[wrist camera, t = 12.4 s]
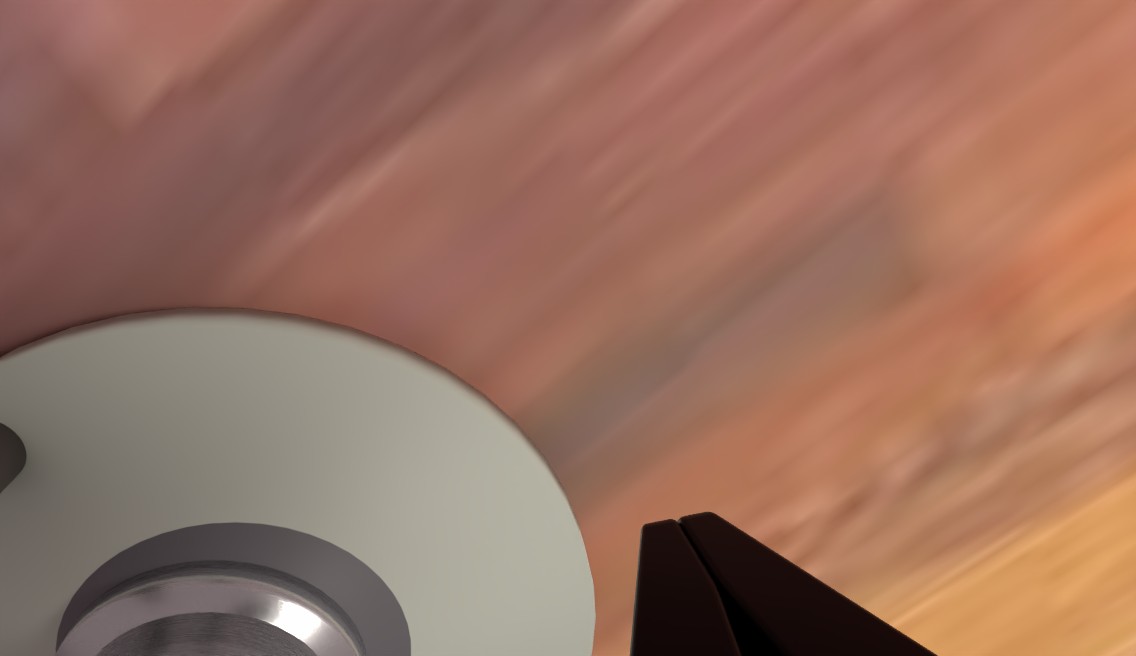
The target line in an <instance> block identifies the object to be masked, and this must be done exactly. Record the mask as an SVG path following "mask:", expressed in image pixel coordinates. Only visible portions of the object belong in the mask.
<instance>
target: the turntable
mask: <svg viewBox="0 0 1136 656" xmlns="http://www.w3.org/2000/svg"><path fill="white" fill-rule="evenodd" d="M202 560H227V561H237V562H247V563H252V564H257V565H262V566H267V567H270V568H273V569H276V570H280V571H283V572H286V573H288V574H291V575H293V576H295V577H298V578H300V579H302V580H304V581H306V582H308V583H310V584H311V585H313V586H315V587H316V588H318V589H320V590H321V591H323V592H324V593H325V594H326V595H328V596H329V597H330V598H332V599H333V600H334V601H335V602H336V603H337V604H338V605H339V606H340V607H341V608H342V609H343V610H344V611H345V612H346V613H347V614H348V616H349V617H350V618H351V620H352V621H353V622H354V624H355V625H356V627H357V629H358V631H359V633H360V635H361V637H362V639H363V642H364V645H365V648H366V651H367V656H591V654H592V648H593V638H594V628H595V618H596V616H595V601H594V585H593V579H592V575H591V571H590V567H589V562H588V558H587V554H586V550H585V546H584V542H583V539H582V535H581V532H580V528H579V524H578V521H577V519H576V516H575V514H574V512H573V509H572V507H571V504H570V502H569V500H568V497H567V495H566V492H565V490H564V488H563V486H562V484H561V483H560V481H559V480H558V478H557V476H556V475H555V473H554V471H553V470H552V468H551V467H550V465H549V463H548V462H547V460H546V458H545V457H544V455H543V454H542V453H541V452H540V450H539V449H538V448H537V447H536V446H535V444H534V443H533V442H532V441H531V440H530V438H529V437H528V436H527V435H526V434H525V433H524V431H523V430H522V429H521V428H520V427H519V425H518V424H517V423H516V422H515V421H513V420H512V419H511V418H510V417H509V416H508V415H507V414H506V413H505V412H503V411H502V410H501V409H500V408H499V407H498V406H497V405H496V404H495V403H493V402H492V401H491V400H490V399H489V398H488V397H487V396H486V395H484V394H483V393H482V392H480V391H479V390H477V389H476V388H474V387H473V386H471V385H470V384H468V383H467V382H465V381H464V380H462V379H461V378H459V377H458V376H457V375H455V374H454V373H452V372H451V371H449V370H448V369H446V368H445V367H443V366H441V365H439V364H437V363H435V362H433V361H431V360H429V359H427V358H425V357H423V356H421V355H419V354H417V353H415V352H413V351H411V350H409V349H407V348H405V347H403V346H401V345H399V344H396V343H393V342H390V341H388V340H385V339H382V338H379V337H377V336H374V335H371V334H369V333H366V332H363V331H360V330H358V329H355V328H352V327H348V326H344V325H340V324H335V323H331V322H327V321H323V320H319V319H314V318H310V317H306V316H302V315H297V314H288V313H280V312H272V311H263V310H255V309H247V308H178V309H169V310H160V311H151V312H142V313H133V314H126V315H122V316H117V317H113V318H109V319H105V320H100V321H96V322H92V323H88V324H83V325H79V326H75V327H71V328H68V329H66V330H63V331H60V332H58V333H55V334H52V335H50V336H47V337H44V338H42V339H39V340H36V341H34V342H31V343H28V344H26V345H23V346H20V347H18V348H16V349H14V350H13V351H11V352H9V353H7V354H5V355H3V356H1V357H0V656H54V655H55V654H56V652H57V650H58V649H59V647H60V645H61V644H62V642H63V640H64V639H65V637H66V636H67V634H68V632H69V631H70V629H71V628H72V626H73V625H74V623H75V622H76V620H77V619H78V617H79V616H80V615H81V614H82V613H83V612H84V610H85V609H86V608H87V607H88V606H89V605H90V604H91V603H92V602H93V601H95V600H96V599H97V598H98V597H100V596H101V595H102V594H103V593H105V592H106V591H108V590H109V589H111V588H113V587H114V586H116V585H117V584H119V583H121V582H122V581H125V580H127V579H129V578H131V577H134V576H136V575H138V574H140V573H143V572H146V571H149V570H153V569H156V568H159V567H163V566H167V565H172V564H177V563H182V562H192V561H202Z"/></svg>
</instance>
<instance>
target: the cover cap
mask: <svg viewBox="0 0 1136 656" xmlns="http://www.w3.org/2000/svg"><path fill="white" fill-rule="evenodd" d="M54 656H367V651H366V648H365V645H364V642H363V639H362V637H361V635H360V633H359V631H358V629H357V627H356V625H355V624H354V622H353V621H352V620H351V618H350V617H349V616H348V614H347V613H346V612H345V611H344V610H343V609H342V608H341V607H340V606H339V605H338V604H337V603H336V602H335V601H334V600H333V599H332V598H330V597H329V596H328V595H326V594H325V593H324V592H323V591H321V590H320V589H318V588H316V587H315V586H313V585H311V584H310V583H308V582H306V581H304V580H302V579H300V578H298V577H295V576H293V575H291V574H288V573H286V572H283V571H280V570H276V569H273V568H270V567H267V566H262V565H257V564H252V563H247V562H237V561H227V560H202V561H192V562H182V563H177V564H172V565H167V566H163V567H159V568H156V569H153V570H149V571H146V572H143V573H140V574H138V575H136V576H134V577H131V578H129V579H127V580H125V581H122V582H121V583H119V584H117V585H116V586H114V587H113V588H111V589H109V590H108V591H106V592H105V593H103V594H102V595H101V596H100V597H98V598H97V599H96V600H95V601H93V602H92V603H91V604H90V605H89V606H88V607H87V608H86V609H85V610H84V612H83V613H82V614H81V615H80V616H79V617H78V619H77V620H76V622H75V623H74V625H73V626H72V628H71V629H70V631H69V632H68V634H67V636H66V637H65V639H64V640H63V642H62V644H61V645H60V647H59V649H58V650H57V652H56V654H55V655H54Z"/></svg>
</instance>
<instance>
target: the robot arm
mask: <svg viewBox="0 0 1136 656" xmlns="http://www.w3.org/2000/svg"><path fill="white" fill-rule="evenodd" d="M630 656H937V655H936V654H934V653H933V652H931V651H930V650H928V649H927V648H925V647H923V646H922V645H920V644H919V643H917V642H916V641H914V640H912V639H911V638H909V637H908V636H906V635H905V634H903V633H901V632H900V631H898V630H897V629H895V628H894V627H892V626H890V625H889V624H887V623H886V622H884V621H883V620H881V619H880V618H878V617H876V616H875V615H873V614H872V613H870V612H869V611H867V610H865V609H864V608H862V607H861V606H859V605H858V604H856V603H854V602H853V601H851V600H850V599H848V598H847V597H845V596H843V595H842V594H840V593H839V592H837V591H836V590H834V589H833V588H831V587H829V586H828V585H826V584H825V583H823V582H822V581H820V580H818V579H817V578H815V577H814V576H812V575H811V574H809V573H807V572H806V571H804V570H803V569H801V568H800V567H798V566H796V565H795V564H793V563H792V562H790V561H789V560H787V559H785V558H784V557H782V556H781V555H779V554H778V553H776V552H775V551H773V550H771V549H770V548H768V547H767V546H765V545H764V544H762V543H760V542H759V541H757V540H756V539H754V538H753V537H751V536H749V535H748V534H746V533H745V532H743V531H742V530H740V529H738V528H737V527H735V526H734V525H732V524H731V523H729V522H728V521H726V520H724V519H723V518H721V517H720V516H718V515H717V514H715V513H712V512H703V513H698V514H693V515H688V516H683V517H681V518H680V519H679V520H678V522H677V521H676V520H673V519H668V520H663V521H658V522H653V523H648V524H645V525H644V526H643V527H642V529H641V538H640V549H639V559H638V570H637V581H636V592H635V603H634V614H633V625H632V636H631V647H630Z"/></svg>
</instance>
